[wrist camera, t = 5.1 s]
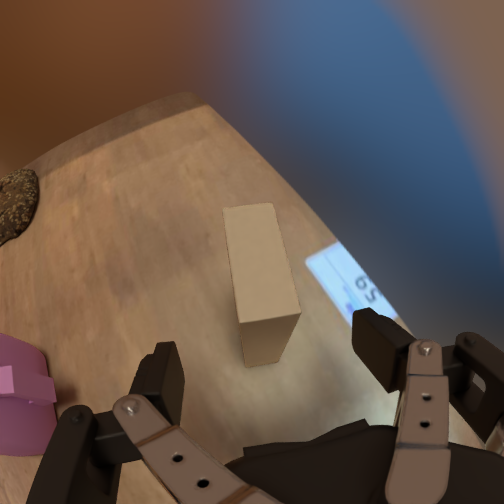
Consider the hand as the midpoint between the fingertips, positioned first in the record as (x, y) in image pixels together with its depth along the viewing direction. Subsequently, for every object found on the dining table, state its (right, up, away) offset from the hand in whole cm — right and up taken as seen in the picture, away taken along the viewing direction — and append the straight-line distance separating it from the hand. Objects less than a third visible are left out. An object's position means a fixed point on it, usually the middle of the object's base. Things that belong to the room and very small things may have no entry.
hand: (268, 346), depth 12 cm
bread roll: (-35, +9, +17) cm, 40 cm away
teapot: (-23, -10, +4) cm, 26 cm away
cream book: (0, -2, +9) cm, 10 cm away
